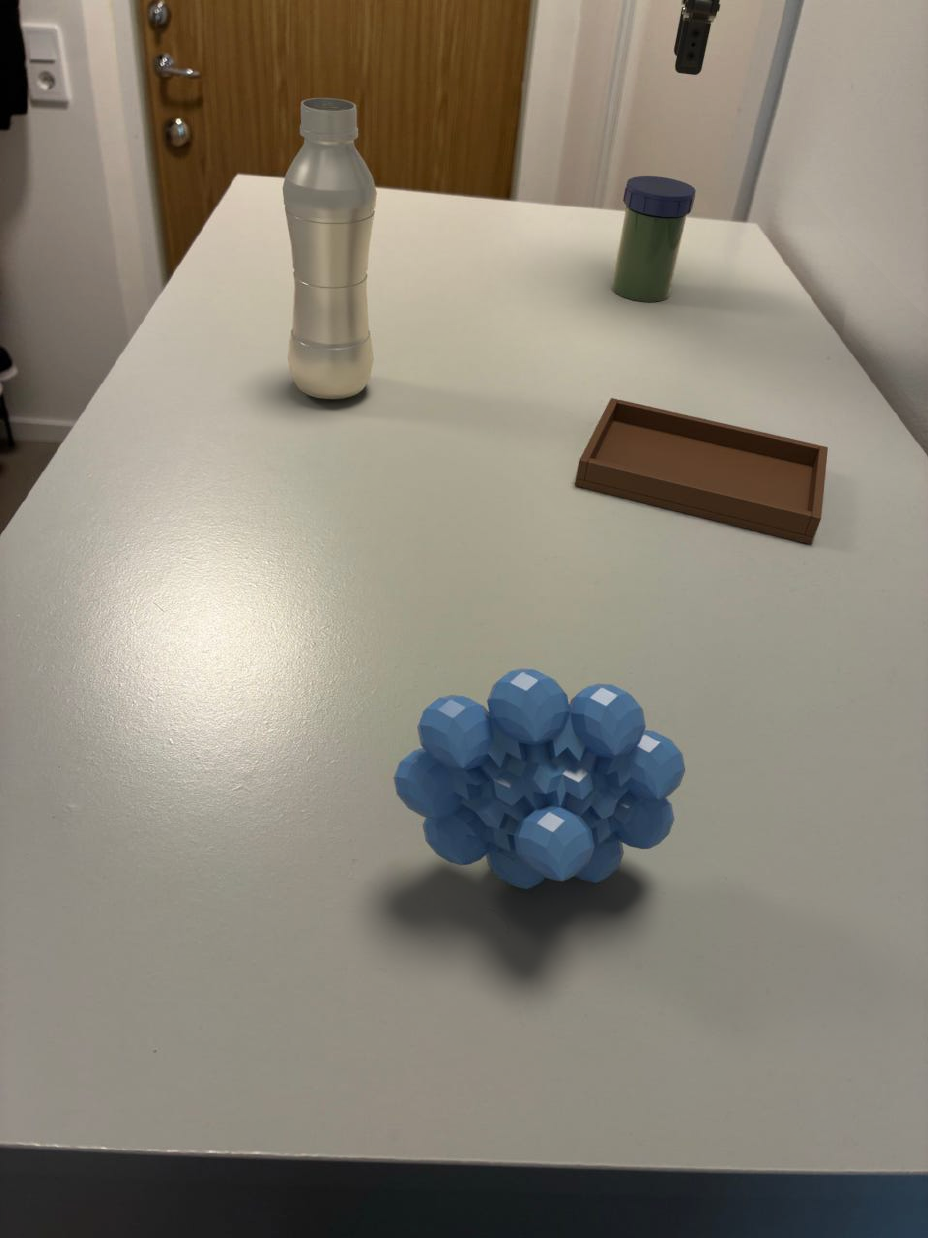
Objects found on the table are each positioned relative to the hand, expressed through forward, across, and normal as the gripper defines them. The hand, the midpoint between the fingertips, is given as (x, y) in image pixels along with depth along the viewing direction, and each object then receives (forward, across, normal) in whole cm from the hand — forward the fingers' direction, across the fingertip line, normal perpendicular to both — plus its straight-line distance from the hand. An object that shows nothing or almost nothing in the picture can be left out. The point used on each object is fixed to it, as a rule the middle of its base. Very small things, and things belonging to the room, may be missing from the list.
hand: (685, 64), depth 83 cm
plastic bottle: (+20, -30, +24) cm, 43 cm away
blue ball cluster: (+20, -72, +4) cm, 75 cm away
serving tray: (+20, -35, -5) cm, 41 cm away
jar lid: (+10, 0, 0) cm, 10 cm away
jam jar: (+20, 0, 0) cm, 20 cm away
